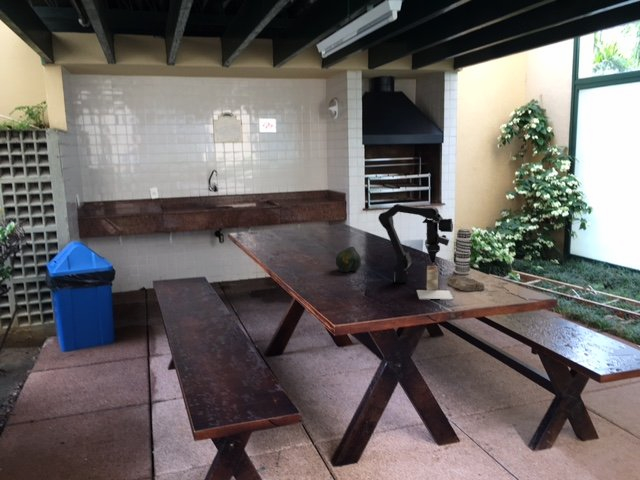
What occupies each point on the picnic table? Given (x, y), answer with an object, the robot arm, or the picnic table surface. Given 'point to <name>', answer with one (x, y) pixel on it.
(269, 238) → the picnic table surface
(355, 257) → the squash
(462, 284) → the flat brown rock
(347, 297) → the picnic table surface
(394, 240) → the robot arm
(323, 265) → the picnic table surface
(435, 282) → the birch block
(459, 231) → the decorative candle
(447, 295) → the white board
